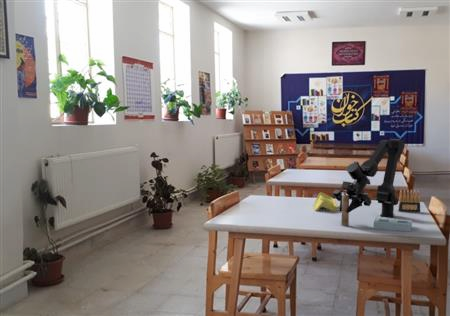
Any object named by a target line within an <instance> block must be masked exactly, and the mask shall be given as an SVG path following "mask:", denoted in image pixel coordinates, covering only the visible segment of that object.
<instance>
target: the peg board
mask: <svg viewBox="0 0 450 316" xmlns="http://www.w3.org/2000/svg"><path fill="white" fill-rule="evenodd" d="M373 229H375V230H387V231H388V230H389V231H397V230H398V231H399V232H400V231H401V232H409V231H411V232H412V231H413V230H412V229H413V220H411V219H401V218H387V217H375V218H374V221H373ZM398 231H397V232H398Z"/></svg>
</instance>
